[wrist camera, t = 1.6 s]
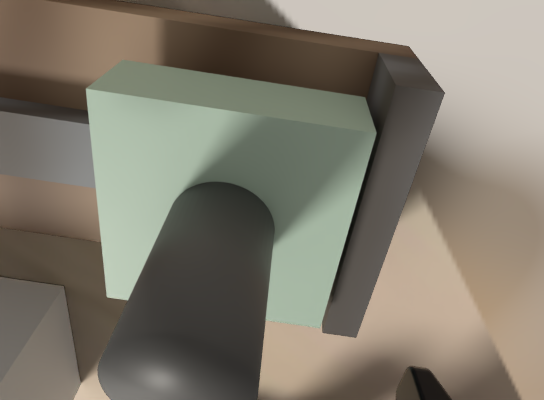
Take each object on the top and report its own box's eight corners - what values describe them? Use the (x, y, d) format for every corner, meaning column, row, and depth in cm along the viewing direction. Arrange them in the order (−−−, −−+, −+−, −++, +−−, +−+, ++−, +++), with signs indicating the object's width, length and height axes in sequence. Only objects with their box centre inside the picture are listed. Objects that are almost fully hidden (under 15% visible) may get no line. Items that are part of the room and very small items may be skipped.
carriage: (364, 97, 13) (422, 276, 6) (318, 275, 16) (325, 498, 10) (123, 59, 13) (-63, 204, 6) (132, 248, 16) (23, 456, 10)
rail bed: (408, 46, 14) (445, 92, 11) (346, 254, 19) (356, 337, 16) (-335, -71, 14) (-572, -66, 10) (-205, 173, 19) (-333, 237, 15)
